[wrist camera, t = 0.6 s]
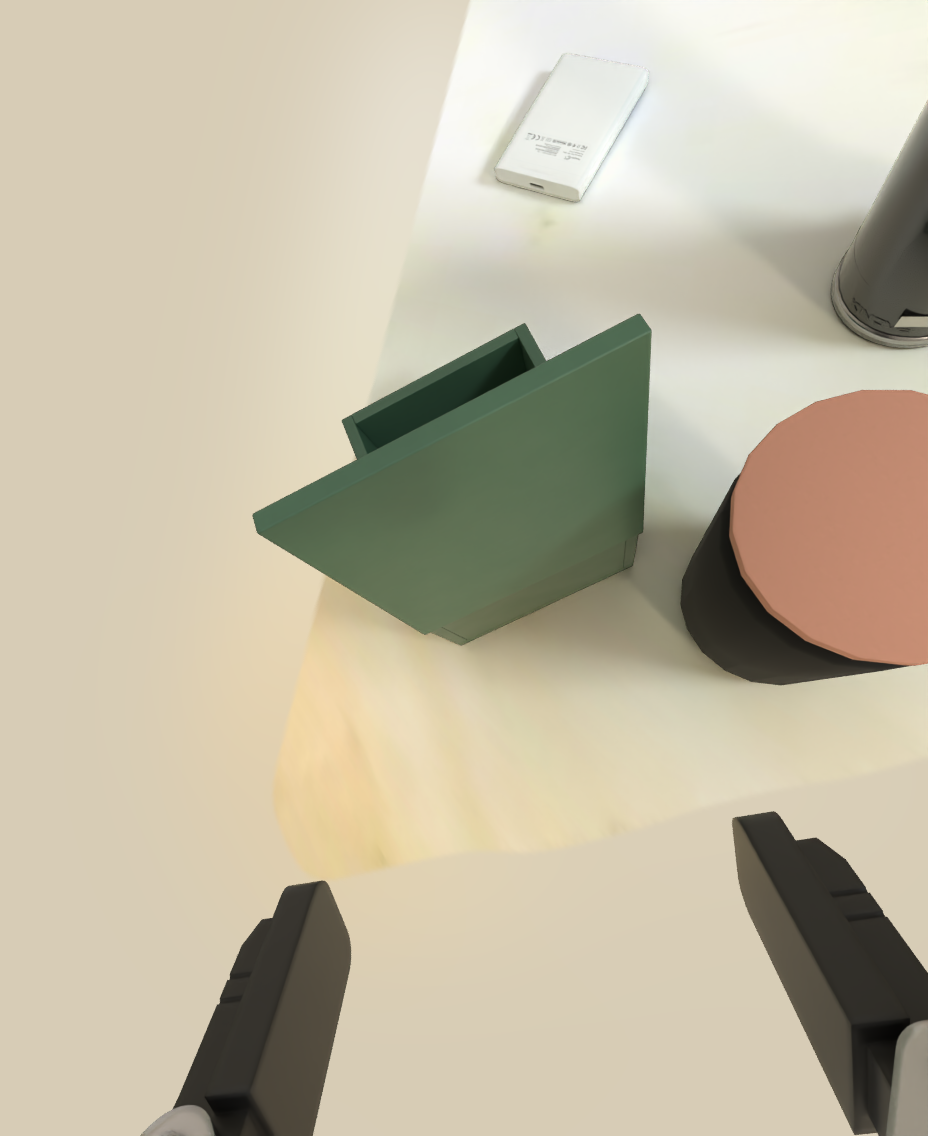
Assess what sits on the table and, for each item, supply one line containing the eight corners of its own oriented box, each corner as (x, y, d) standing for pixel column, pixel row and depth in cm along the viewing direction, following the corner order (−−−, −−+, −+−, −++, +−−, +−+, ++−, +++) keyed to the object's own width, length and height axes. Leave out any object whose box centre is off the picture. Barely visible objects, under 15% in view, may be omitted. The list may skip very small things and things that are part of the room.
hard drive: (648, 87, 50) (579, 204, 49) (563, 70, 53) (496, 181, 51) (649, 67, 48) (578, 187, 47) (561, 51, 51) (492, 165, 50)
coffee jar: (838, 707, 36) (1046, 705, 19) (661, 659, 39) (703, 620, 22) (869, 545, 38) (1084, 410, 21) (697, 511, 41) (761, 369, 24)
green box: (387, 470, 47) (340, 419, 39) (540, 392, 46) (524, 322, 37) (460, 645, 42) (424, 630, 34) (633, 565, 41) (639, 528, 33)
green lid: (250, 513, 19) (256, 533, 19) (639, 311, 17) (652, 329, 17) (420, 623, 34) (424, 635, 34) (636, 520, 32) (643, 532, 32)
